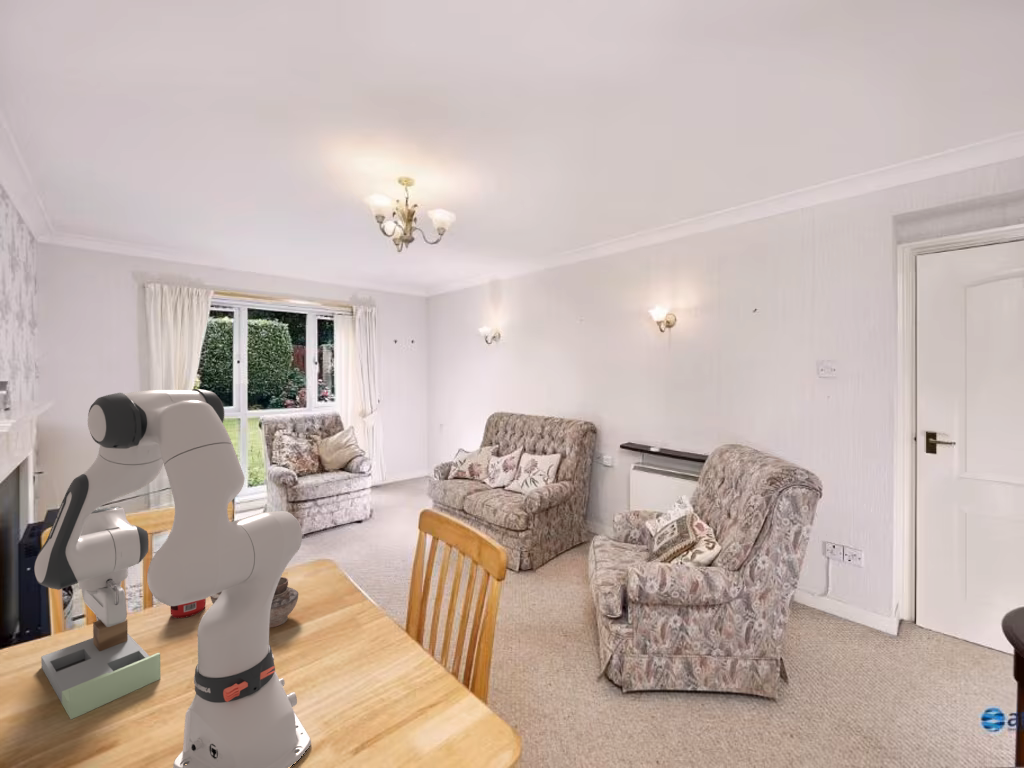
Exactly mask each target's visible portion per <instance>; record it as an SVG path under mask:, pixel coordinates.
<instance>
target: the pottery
mask: <svg viewBox="0 0 1024 768" xmlns="http://www.w3.org/2000/svg"><path fill="white" fill-rule="evenodd" d="M221 593H222V591H221V592H219V593H217V594H214V595H212V596H210V597H209V598H210V600H211V603H212V605H213V604H214V603H215V601H216V600H217V599H218V597H219V596H220V594H221ZM298 599H299V592H298V590H296V589H294V588H292V587H291V586H289V579H288V578H287V577H283V576H281V578H280V580H279V583H278V585H277V588H276V590H275V593H274V597H273V600H272V604H271V609H270V622H269V628H275V627H279V626H281V625H283V624H285V623H286V622H287V621H288V616H289V615H290V614H291V613H292V611H293V610H294V609H295V607H296V605H297V603H298Z"/></svg>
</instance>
